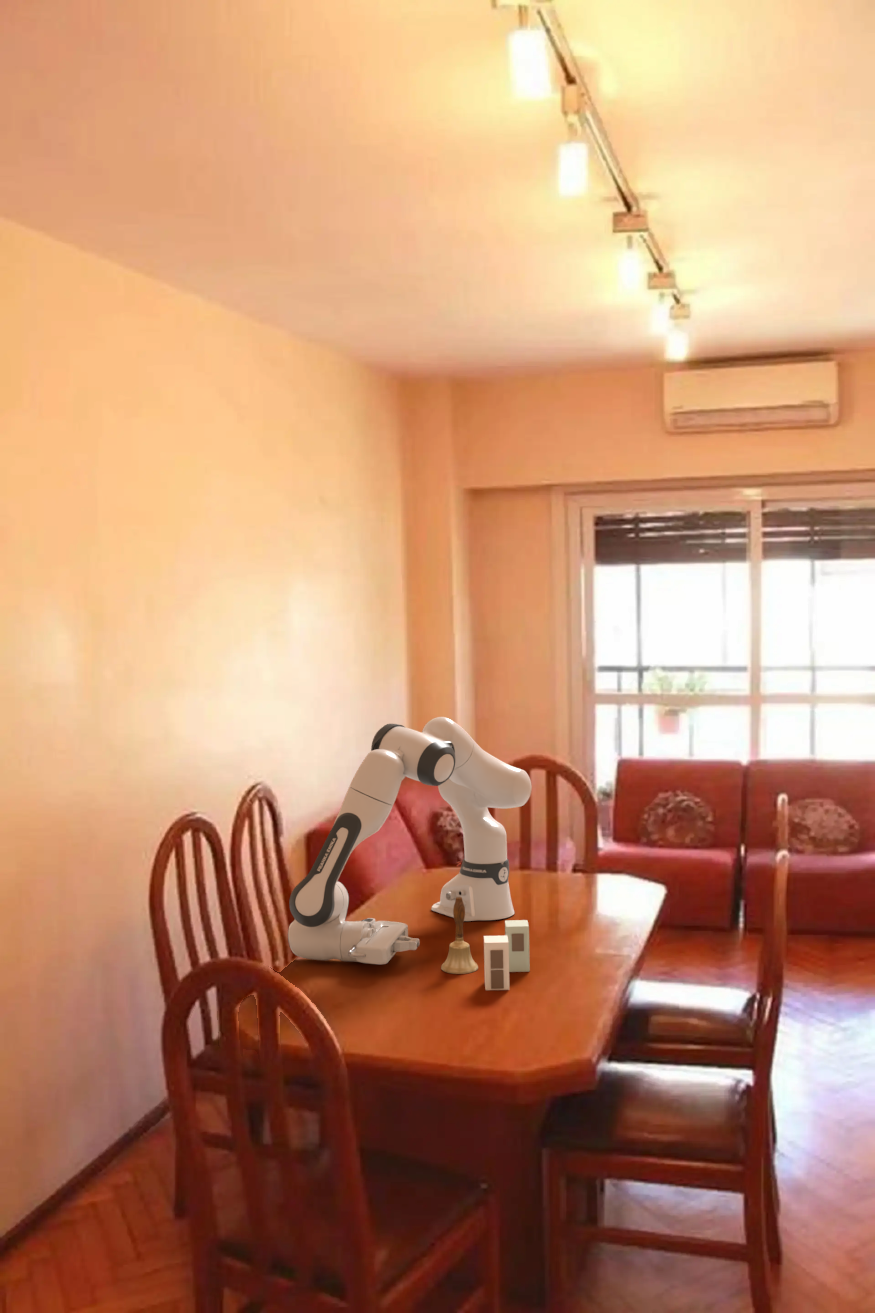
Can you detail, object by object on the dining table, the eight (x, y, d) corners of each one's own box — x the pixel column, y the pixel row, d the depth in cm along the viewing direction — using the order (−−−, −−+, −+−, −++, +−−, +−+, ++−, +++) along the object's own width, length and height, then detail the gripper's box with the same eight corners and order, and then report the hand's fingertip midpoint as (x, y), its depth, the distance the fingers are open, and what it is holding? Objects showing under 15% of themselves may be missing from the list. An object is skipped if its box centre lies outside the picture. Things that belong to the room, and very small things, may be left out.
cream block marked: (484, 982, 243) (483, 936, 242) (508, 982, 243) (507, 935, 242) (485, 990, 237) (484, 943, 237) (509, 990, 237) (508, 942, 237)
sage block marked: (505, 965, 254) (504, 920, 254) (528, 964, 254) (527, 920, 254) (506, 972, 249) (506, 927, 248) (529, 972, 249) (529, 926, 248)
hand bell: (483, 964, 255) (481, 893, 254) (471, 975, 247) (470, 903, 246) (447, 961, 258) (446, 891, 257) (435, 972, 250) (434, 900, 249)
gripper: (344, 941, 247) (406, 944, 244) (370, 915, 267) (427, 918, 264) (345, 970, 247) (407, 973, 244) (371, 942, 267) (428, 945, 264)
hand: (418, 944), depth 254 cm, fingers closed
